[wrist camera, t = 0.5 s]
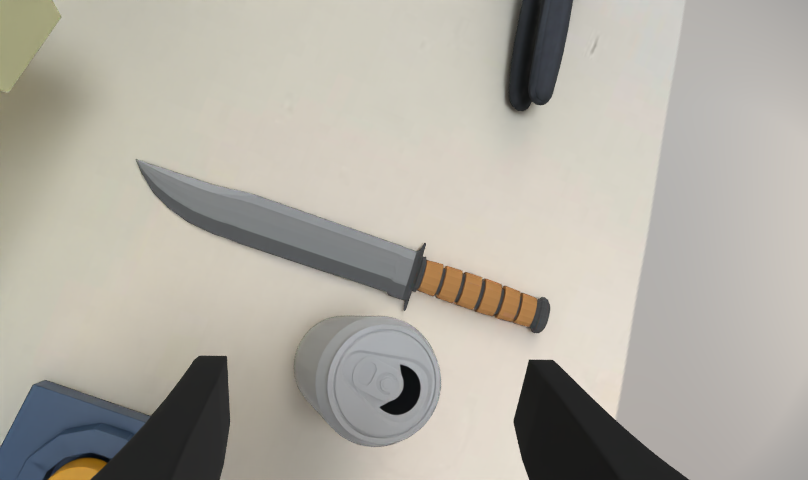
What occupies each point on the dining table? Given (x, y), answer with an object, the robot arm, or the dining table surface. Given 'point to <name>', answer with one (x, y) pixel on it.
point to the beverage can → (369, 377)
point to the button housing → (63, 431)
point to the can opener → (538, 51)
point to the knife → (336, 247)
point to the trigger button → (79, 469)
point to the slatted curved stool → (22, 35)
